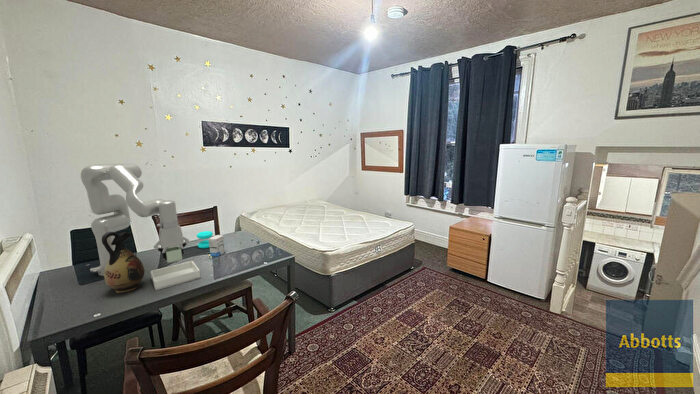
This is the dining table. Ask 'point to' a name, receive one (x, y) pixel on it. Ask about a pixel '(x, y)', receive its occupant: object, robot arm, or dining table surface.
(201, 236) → the donuts
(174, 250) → the box
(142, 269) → the ceramic jug
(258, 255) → the dining table surface
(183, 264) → the white shallow tray
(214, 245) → the ink box
